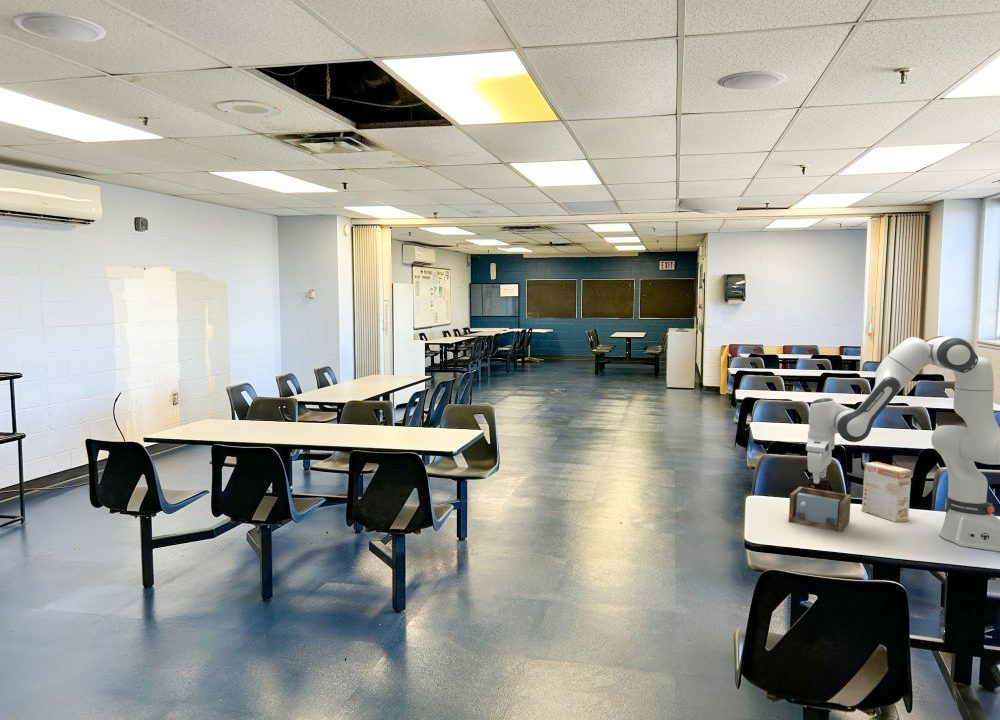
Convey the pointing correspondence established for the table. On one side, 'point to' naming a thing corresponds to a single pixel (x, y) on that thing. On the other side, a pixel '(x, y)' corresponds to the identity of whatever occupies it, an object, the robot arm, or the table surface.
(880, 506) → the coffeecake box
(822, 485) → the coffee cup
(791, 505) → the cabinet
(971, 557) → the table surface
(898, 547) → the table surface
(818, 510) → the door
